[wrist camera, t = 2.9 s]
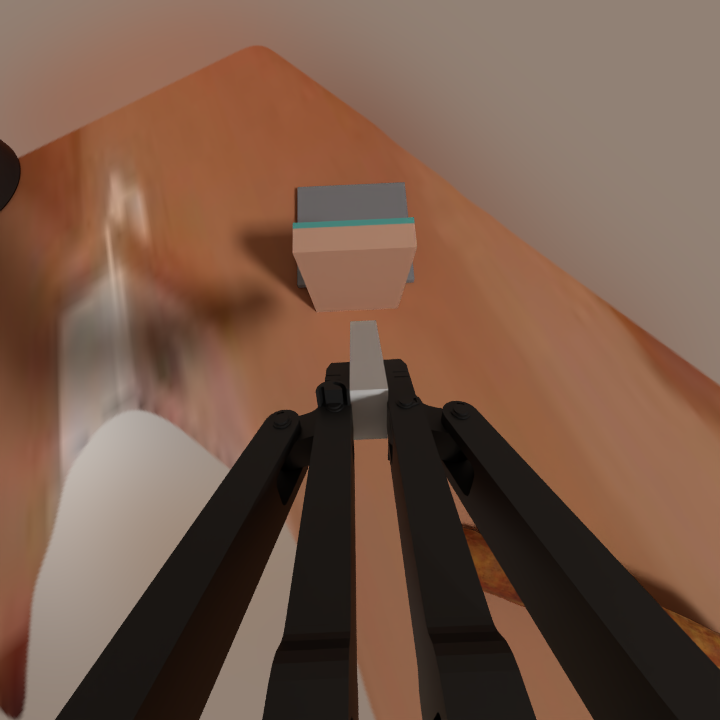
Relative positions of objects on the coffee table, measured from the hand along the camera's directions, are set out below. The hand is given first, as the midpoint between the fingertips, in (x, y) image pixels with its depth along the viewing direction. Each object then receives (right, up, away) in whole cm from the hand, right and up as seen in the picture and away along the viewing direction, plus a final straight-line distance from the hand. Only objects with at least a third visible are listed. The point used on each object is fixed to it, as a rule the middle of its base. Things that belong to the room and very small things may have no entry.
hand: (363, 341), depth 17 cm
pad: (-1, +14, +16) cm, 21 cm away
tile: (-1, +6, +14) cm, 15 cm away
